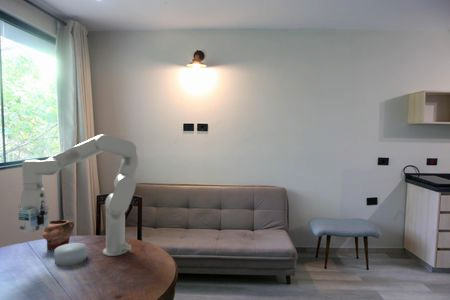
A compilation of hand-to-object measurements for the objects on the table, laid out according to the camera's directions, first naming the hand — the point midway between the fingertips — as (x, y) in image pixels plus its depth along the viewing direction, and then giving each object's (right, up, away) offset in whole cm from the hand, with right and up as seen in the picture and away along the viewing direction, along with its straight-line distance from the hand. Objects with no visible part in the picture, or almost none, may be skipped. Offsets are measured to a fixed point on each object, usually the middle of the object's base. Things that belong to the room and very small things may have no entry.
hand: (33, 223), depth 136 cm
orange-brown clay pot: (-2, -19, +26) cm, 32 cm away
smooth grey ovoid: (+13, -20, +8) cm, 25 cm away
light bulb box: (0, -3, 0) cm, 3 cm away
